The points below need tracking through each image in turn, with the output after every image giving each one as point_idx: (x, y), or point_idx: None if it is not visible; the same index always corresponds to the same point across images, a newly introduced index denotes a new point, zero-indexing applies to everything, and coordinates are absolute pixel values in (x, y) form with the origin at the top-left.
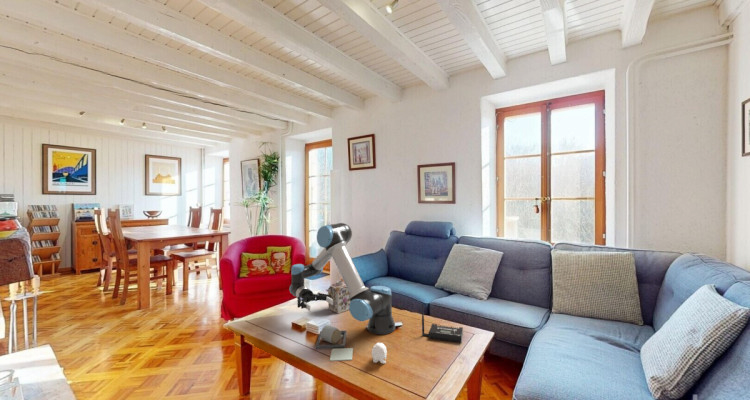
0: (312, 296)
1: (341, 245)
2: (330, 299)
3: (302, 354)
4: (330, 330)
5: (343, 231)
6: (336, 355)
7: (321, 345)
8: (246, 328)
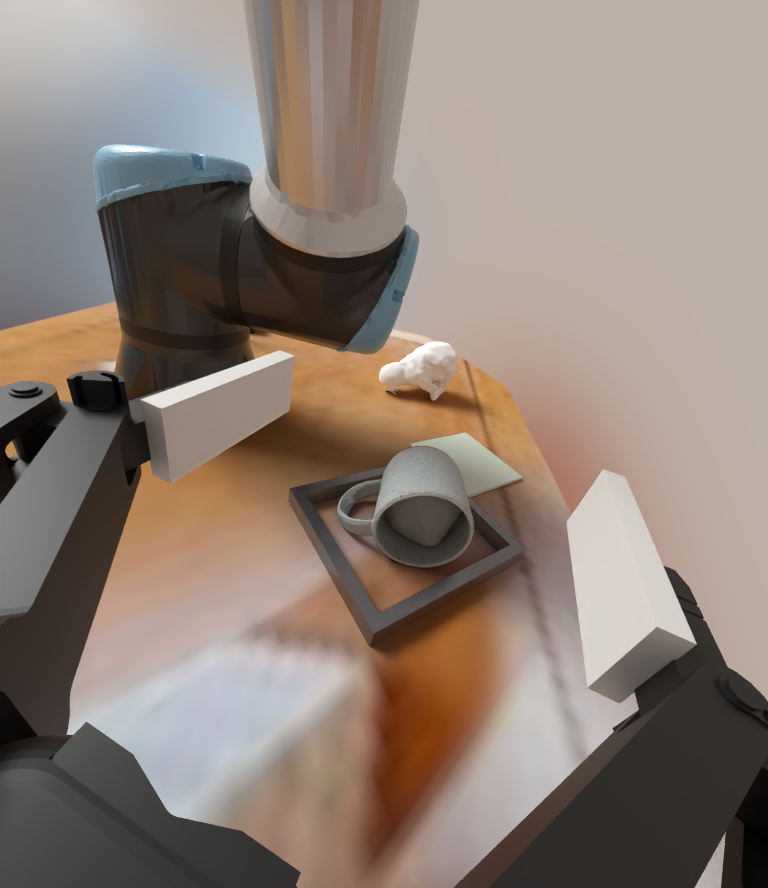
0: (79, 814)
1: None
2: (267, 370)
3: None
4: (453, 467)
5: None
6: (486, 469)
7: (498, 529)
8: None
